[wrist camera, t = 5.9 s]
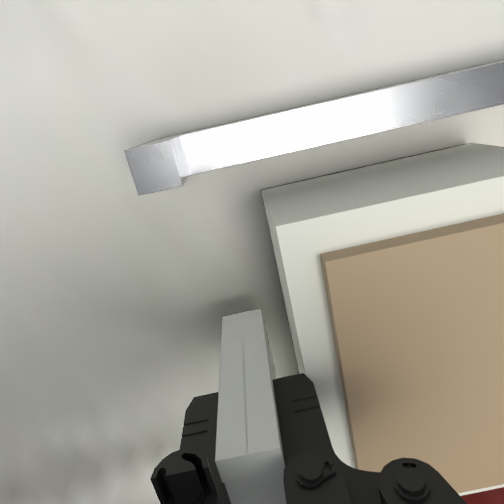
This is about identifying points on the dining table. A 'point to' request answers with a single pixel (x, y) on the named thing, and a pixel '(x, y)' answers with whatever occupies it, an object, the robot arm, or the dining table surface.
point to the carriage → (402, 308)
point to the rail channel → (314, 125)
